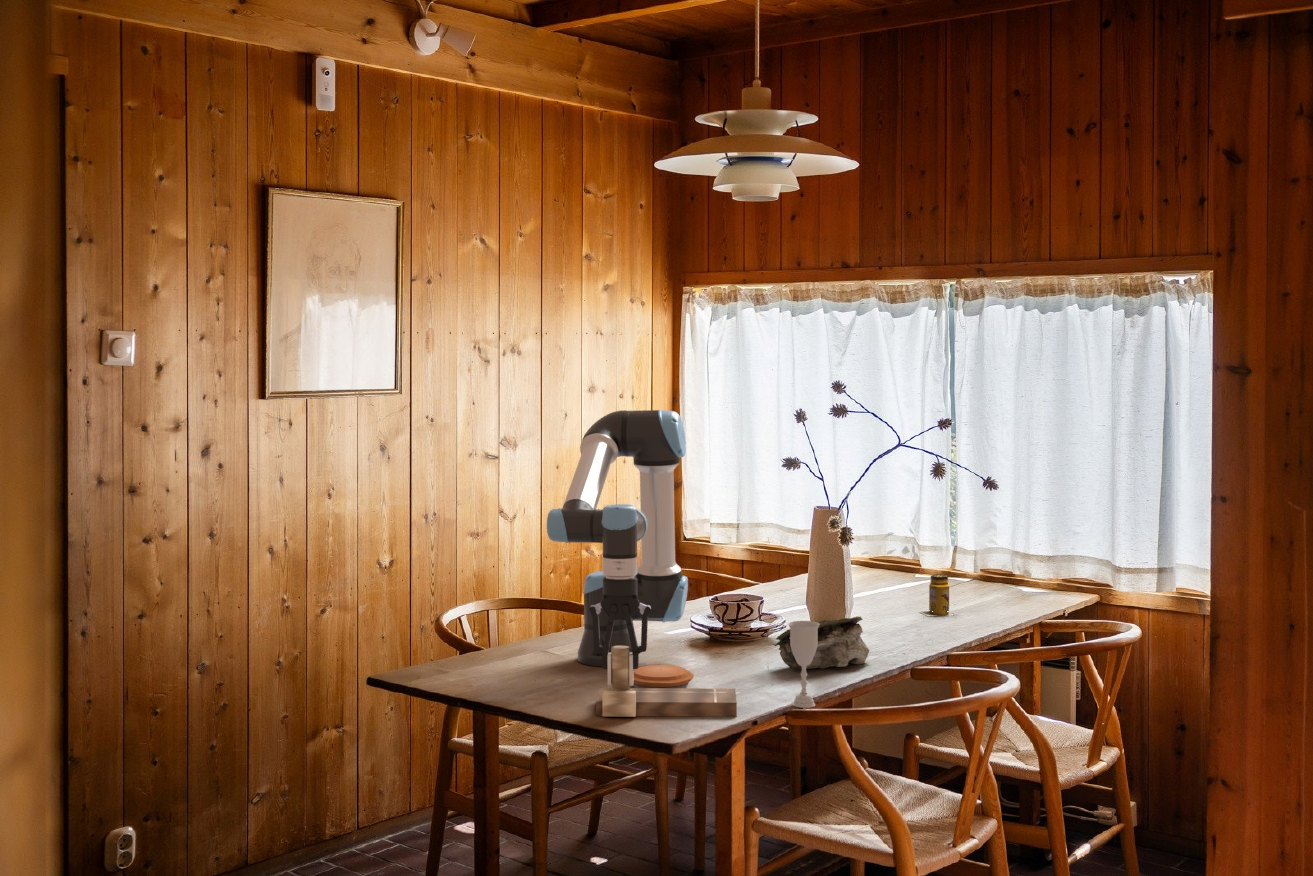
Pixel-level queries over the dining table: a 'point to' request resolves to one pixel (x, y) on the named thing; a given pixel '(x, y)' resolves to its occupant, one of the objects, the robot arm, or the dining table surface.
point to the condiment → (938, 596)
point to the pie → (662, 677)
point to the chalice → (803, 654)
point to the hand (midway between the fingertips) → (620, 683)
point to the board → (680, 702)
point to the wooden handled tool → (619, 686)
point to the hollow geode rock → (830, 645)
